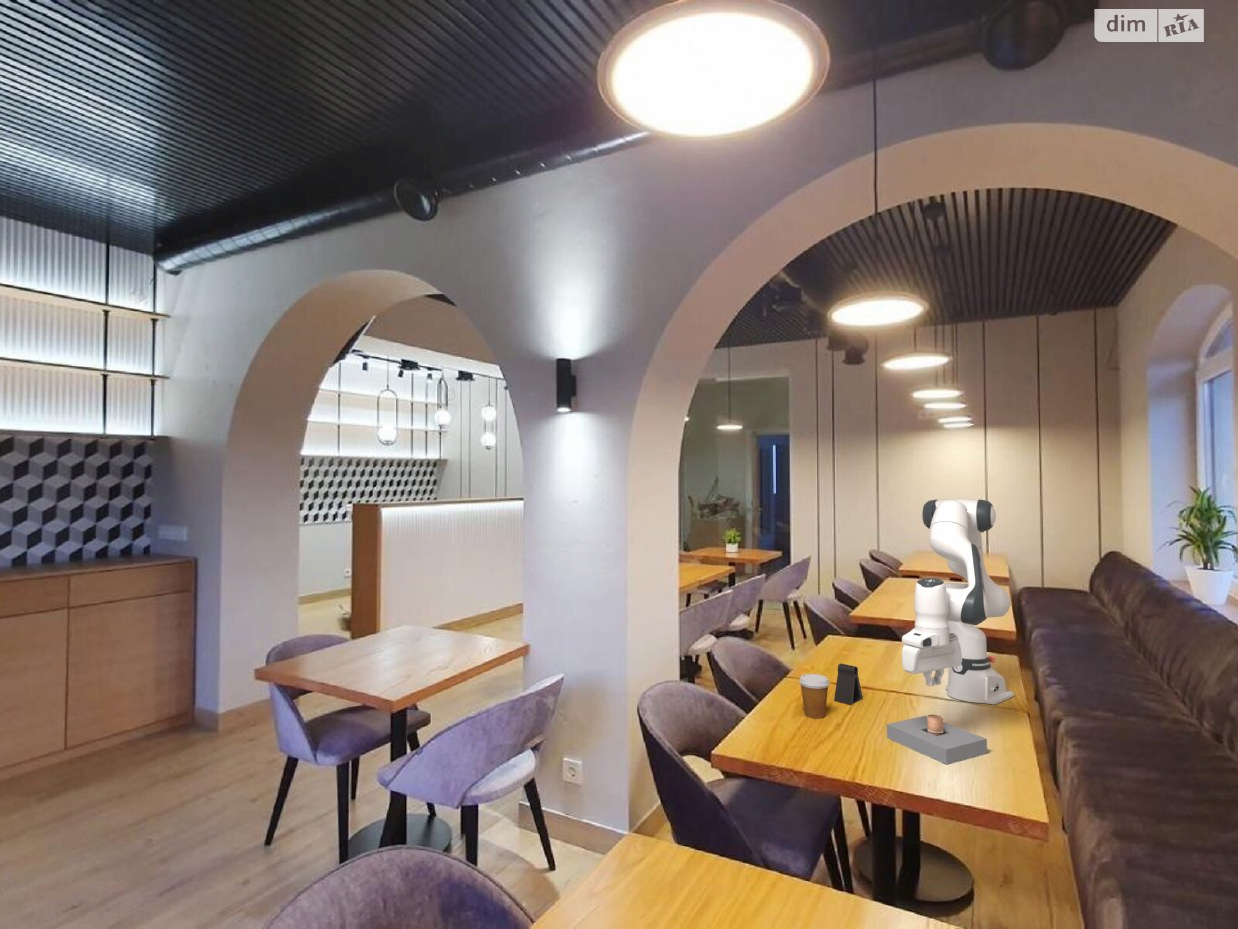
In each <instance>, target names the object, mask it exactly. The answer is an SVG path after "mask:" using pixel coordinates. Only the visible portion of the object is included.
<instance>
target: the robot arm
mask: <svg viewBox="0 0 1238 929" xmlns="http://www.w3.org/2000/svg"><path fill="white" fill-rule="evenodd" d="M996 517H997V514H996V510H995V507H994V506H993V503H992V502H990V501H989V500H985V499H980V498H979V499H971V498H952V499H951V498H949V499H948V498H946V499H939V500H938V499H931V500H928V501H927V502H925V503H924V504H923V507H922V510H921V519H922V522H923V525H924V526H925V528H927V529H928V530H929V532H928V533H929V534H928V543H929V546H930V548H931V549H932V550H933V552H935V554H937V555H938V556H940V557H941V558H944V559H946V561H947V566H948V568H949V570H951V571H952V573H954V574H956V575H958V576H960V577H962V578H964V579H965V581H967V583H959V582H958V583H956V582H955V583H954V582H945V581H944V580H942V579H940V578H934V577H925V578H921V579H918V580H917V581H916V583H915V589H914V597H913V600H914V602H913V603H914V604H913V605H914V607H913V609H914V610H913V611H914V613H915V621H914V627H913V628H912V629H911V630H910V631H908V632H907V633H905V634H903V635H902V636H901V642H902V644H904V645H903V646H902V650H901V662H902V663H901V664H902V669H903V671H904V672H907V673H909V674H912V675H917V674H921V673H922V676H923V677H924V679H925V685H926V686H928V687H934V686H935V685H936V686H938V685H939V686H940V685H942V679H943V676H944V673H945V669H948V673H947V674H948V676H947V685H945V691H946V694H947V695H948V696H949V697H951V698H953V699H956V700H959V701H963V702H969V703H976V704H977V703H980V704H989V705H997V704H1000V703H1002V702H1004V701H1006V700H1008V699H1011V698H1014V697H1015V693H1014V692H1013V691H1011V690H1009V689H1007V688H1006V687H1007V684H1006V680H1005V677H1004V676H1003V675H1001V674H1000V673H998V671H996V670H995V669H994V668H993V667H992V665H991V663H992V664H995V663H996V661H997V660H996V657H995V656H990V655H988V652H987V648H988V646H987V636H986V634H985V633H984V631H983V630H982V629H980V628H978V627H977V626H978V625H980V624H981V623H983V622H984V621H986V620H987V619H988V618H999V617H1004V616H1005V615H1006V614H1007V613H1009V610H1010V606H1011V599H1010V597H1009V595H1008V593H1007V592H1006V590H1004V589H1003V588H1002V587H1000V586H999V585H998V584H997V583H995V582H994V580H993V579H991V577H990V576H989V574H988V572H987V570H986V566H985V560H984V551H983V539H982V534H983V533H984V532H987V531H990V530H991V529H992V528H993V527H994V524H995V522H996ZM933 672H934V675H933ZM932 675H933V676H932Z"/></svg>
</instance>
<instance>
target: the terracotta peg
mask: <svg viewBox="0 0 1238 929" xmlns="http://www.w3.org/2000/svg"><path fill="white" fill-rule="evenodd" d="M926 716H927V726H928V728H927V730H928V733H930V734H932V735H935V736H940V735H943V722H944V717H943V716H941V715H937V714H927V715H926Z"/></svg>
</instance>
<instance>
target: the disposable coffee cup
mask: <svg viewBox="0 0 1238 929" xmlns="http://www.w3.org/2000/svg"><path fill="white" fill-rule="evenodd" d="M798 682H799V685H800V689H801V697H802V704H803V709H804V710H803V711H804V715H805V716H806V717H808V718H811V719H823V718H825V717H826V709H827V703H828V702H827V701H828V692H829V686H830V684H831V683H830V681H829V678H828V677H827V676H825V675H822V674H817V673H806V674H802V675H800V678H799V680H798Z"/></svg>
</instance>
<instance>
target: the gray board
mask: <svg viewBox="0 0 1238 929" xmlns="http://www.w3.org/2000/svg"><path fill="white" fill-rule="evenodd" d="M927 716H928V715H926V714H925V715H922V716H917V717H913V718H908V719H904V720H900V721H895V722H891V723H887V724H886V739H888V740H890V741H893V742H895V743H898V744H900V745H901V746H904V747H907V748H908V749H911V750H913V751H915V752H917V753H919V754H921V755H924V756H926V757H929V758H930V759H933V760H935V761H937V762H939V763H941V764H944V765H946V766H947V765H950V764H954V763H958V762H962V761H965V760H969V759H972V758H973V759H974V758H976V757H980V756H983V755H986V754H988V739H987V738H985V737H983V736H980V735H977V734H976V733H974V732H973V733H972V732H970V731H968V730H965V729H963V728H959V727H957V726H954V725H951V724H948V723H946V722H944V721H943V735H940V736H935V735H932V734H930V733H928V730H927V728H928V726H927Z"/></svg>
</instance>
